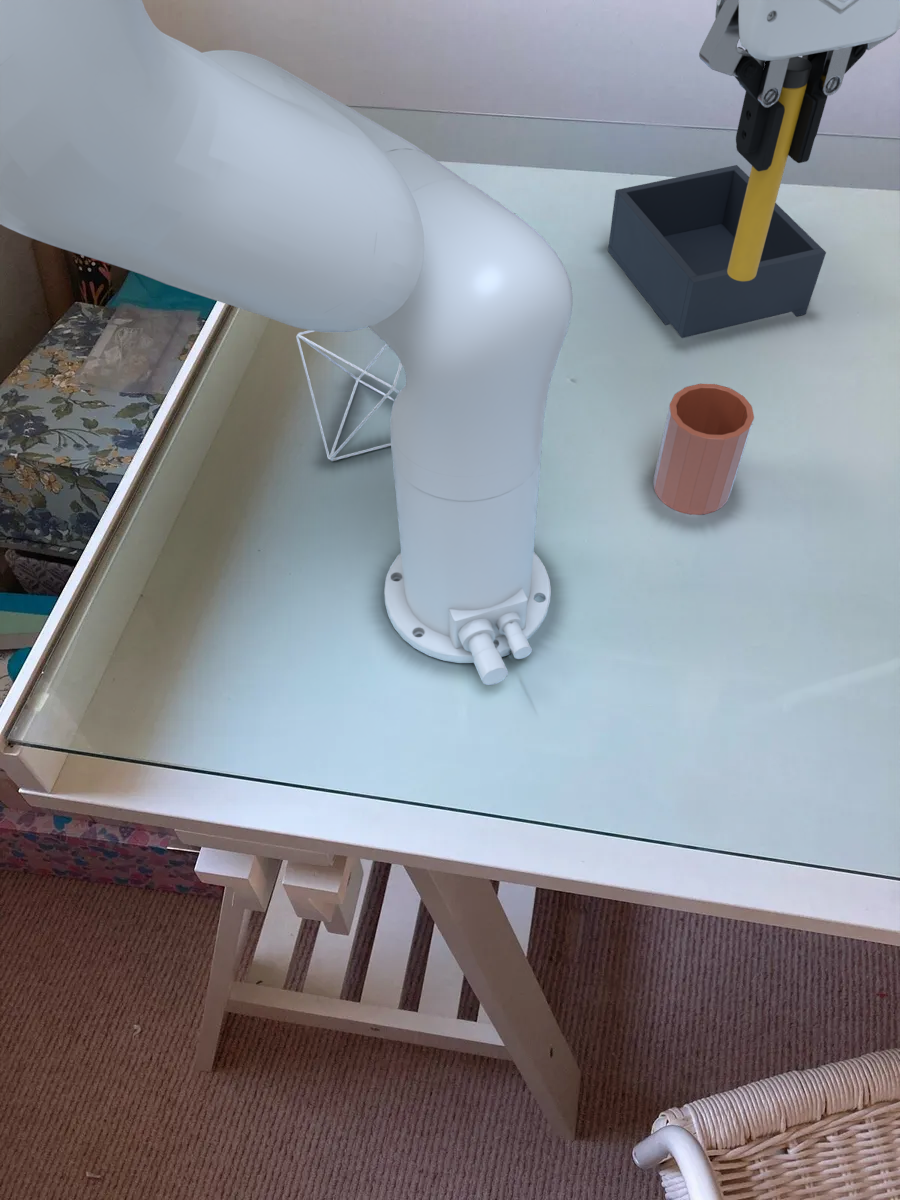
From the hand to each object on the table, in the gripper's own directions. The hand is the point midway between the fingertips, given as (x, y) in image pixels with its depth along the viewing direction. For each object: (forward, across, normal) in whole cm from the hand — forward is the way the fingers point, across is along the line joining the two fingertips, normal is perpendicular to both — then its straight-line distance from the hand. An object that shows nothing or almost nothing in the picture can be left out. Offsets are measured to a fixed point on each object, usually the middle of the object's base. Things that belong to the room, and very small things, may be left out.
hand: (771, 154), depth 60 cm
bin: (+27, +13, +23) cm, 38 cm away
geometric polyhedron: (+27, -24, +14) cm, 39 cm away
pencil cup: (+27, -2, -3) cm, 27 cm away
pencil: (+9, 0, 0) cm, 9 cm away
